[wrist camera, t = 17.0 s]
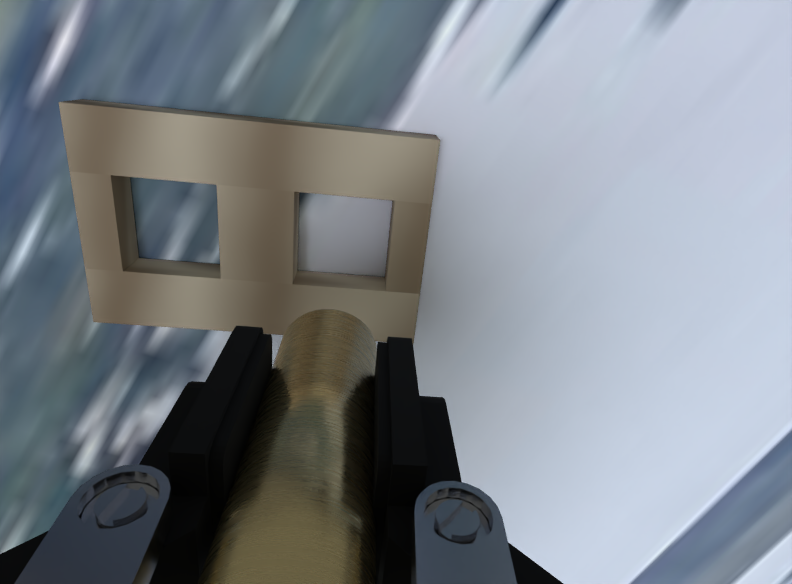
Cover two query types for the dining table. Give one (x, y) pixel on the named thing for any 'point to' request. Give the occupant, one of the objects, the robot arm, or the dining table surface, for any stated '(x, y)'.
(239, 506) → the brass pin
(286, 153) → the board
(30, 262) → the dining table surface
